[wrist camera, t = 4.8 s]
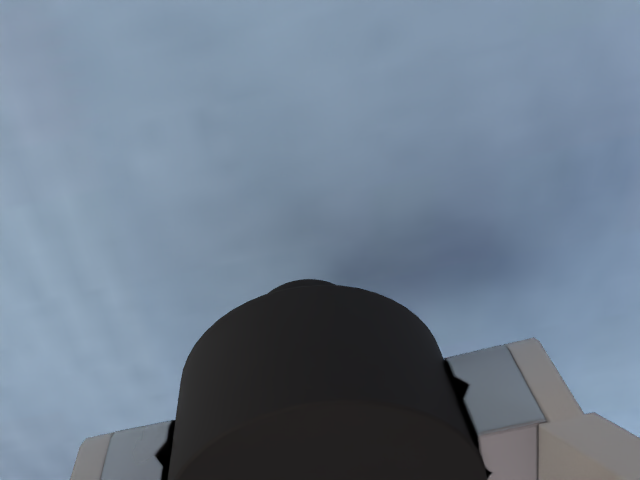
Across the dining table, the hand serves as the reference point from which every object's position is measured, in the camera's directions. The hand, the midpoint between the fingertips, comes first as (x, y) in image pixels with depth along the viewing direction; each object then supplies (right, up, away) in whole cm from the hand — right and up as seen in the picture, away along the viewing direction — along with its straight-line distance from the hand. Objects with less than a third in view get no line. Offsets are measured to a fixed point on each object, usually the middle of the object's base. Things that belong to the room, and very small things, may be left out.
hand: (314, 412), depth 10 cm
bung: (0, +1, +2) cm, 2 cm away
